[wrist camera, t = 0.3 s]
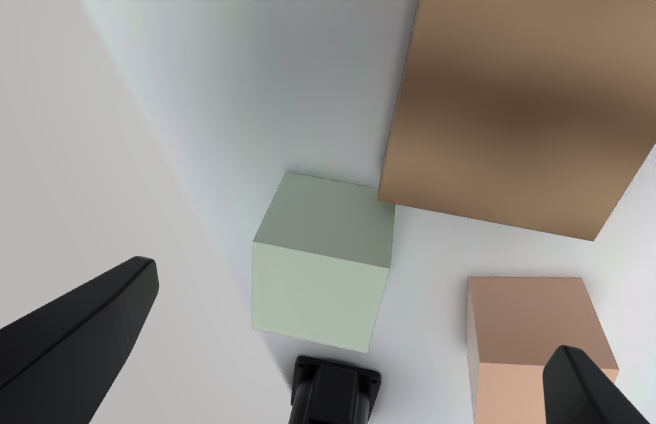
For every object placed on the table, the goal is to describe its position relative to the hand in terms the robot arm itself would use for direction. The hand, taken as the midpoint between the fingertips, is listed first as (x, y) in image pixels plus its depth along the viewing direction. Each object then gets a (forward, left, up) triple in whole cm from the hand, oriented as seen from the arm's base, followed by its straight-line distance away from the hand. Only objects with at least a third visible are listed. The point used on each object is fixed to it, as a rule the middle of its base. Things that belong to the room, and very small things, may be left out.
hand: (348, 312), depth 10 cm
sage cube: (-8, +1, -13) cm, 16 cm away
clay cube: (-12, -11, -13) cm, 21 cm away
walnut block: (+1, -6, -13) cm, 14 cm away
